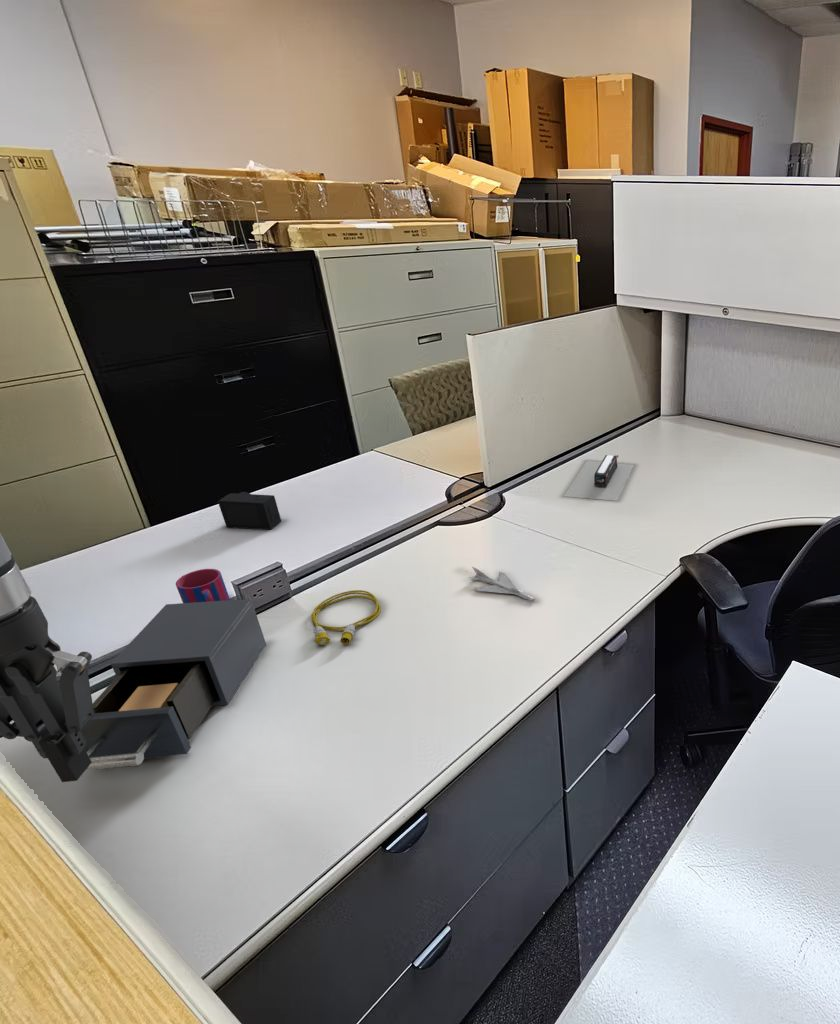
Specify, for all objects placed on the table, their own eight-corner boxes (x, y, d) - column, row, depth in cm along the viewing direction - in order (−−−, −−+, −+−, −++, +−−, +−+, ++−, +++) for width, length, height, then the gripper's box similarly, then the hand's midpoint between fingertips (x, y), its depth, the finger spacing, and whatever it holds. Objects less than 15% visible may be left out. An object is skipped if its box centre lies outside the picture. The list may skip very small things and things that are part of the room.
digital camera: (285, 519, 147) (278, 492, 144) (271, 530, 142) (263, 502, 139) (242, 517, 147) (233, 490, 144) (226, 527, 142) (217, 500, 139)
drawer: (167, 784, 81) (146, 742, 77) (66, 795, 79) (40, 752, 75) (231, 686, 97) (216, 647, 94) (149, 693, 95) (130, 653, 91)
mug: (228, 594, 120) (218, 564, 117) (236, 619, 113) (225, 589, 110) (186, 606, 116) (174, 575, 113) (190, 633, 109) (178, 601, 106)
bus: (633, 465, 186) (633, 452, 184) (617, 500, 164) (617, 486, 162) (586, 461, 187) (586, 448, 185) (564, 496, 165) (563, 481, 163)
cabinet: (227, 704, 95) (208, 656, 90) (134, 713, 93) (110, 663, 88) (266, 644, 108) (251, 598, 103) (185, 650, 105) (166, 604, 101)
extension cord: (281, 641, 108) (278, 632, 107) (339, 591, 122) (337, 583, 121) (345, 651, 107) (342, 642, 106) (396, 599, 121) (395, 591, 120)
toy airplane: (521, 612, 119) (520, 602, 118) (445, 578, 128) (444, 569, 127) (548, 593, 125) (547, 583, 124) (473, 562, 134) (472, 553, 133)
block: (130, 738, 86) (117, 712, 84) (150, 712, 90) (138, 686, 88) (171, 734, 87) (159, 707, 85) (189, 708, 91) (178, 682, 89)
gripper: (81, 586, 67) (156, 741, 78) (-62, 594, 65) (36, 753, 76) (31, 628, 61) (120, 791, 71) (-131, 639, 58) (-13, 806, 69)
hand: (77, 771), depth 74 cm, fingers closed
